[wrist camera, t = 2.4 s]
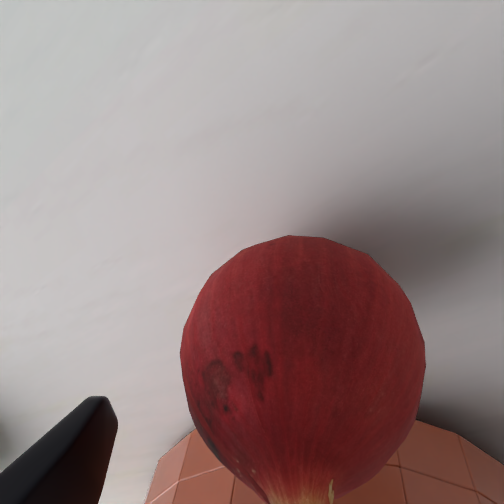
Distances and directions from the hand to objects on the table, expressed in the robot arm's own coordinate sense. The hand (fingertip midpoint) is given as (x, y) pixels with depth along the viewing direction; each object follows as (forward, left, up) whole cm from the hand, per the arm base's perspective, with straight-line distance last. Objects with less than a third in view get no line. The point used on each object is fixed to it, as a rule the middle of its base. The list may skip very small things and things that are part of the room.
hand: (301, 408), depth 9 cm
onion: (0, 0, -6) cm, 6 cm away
